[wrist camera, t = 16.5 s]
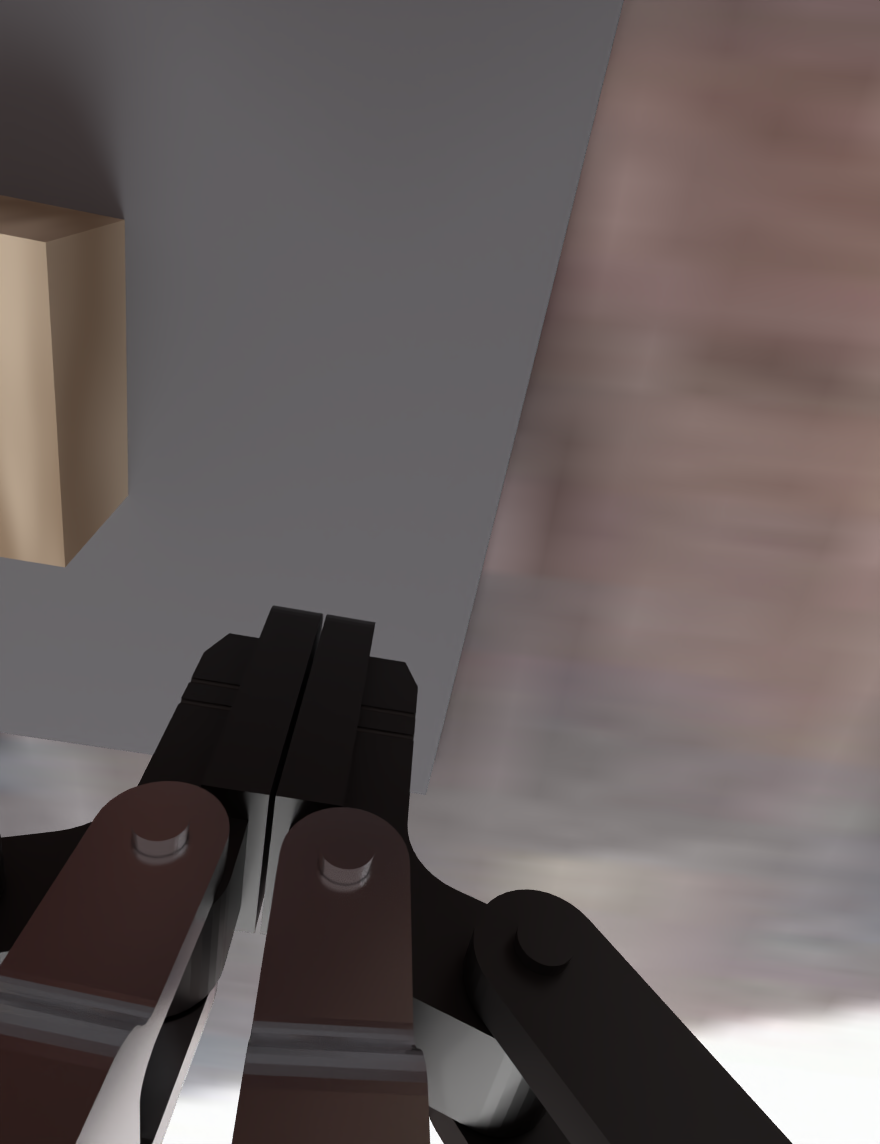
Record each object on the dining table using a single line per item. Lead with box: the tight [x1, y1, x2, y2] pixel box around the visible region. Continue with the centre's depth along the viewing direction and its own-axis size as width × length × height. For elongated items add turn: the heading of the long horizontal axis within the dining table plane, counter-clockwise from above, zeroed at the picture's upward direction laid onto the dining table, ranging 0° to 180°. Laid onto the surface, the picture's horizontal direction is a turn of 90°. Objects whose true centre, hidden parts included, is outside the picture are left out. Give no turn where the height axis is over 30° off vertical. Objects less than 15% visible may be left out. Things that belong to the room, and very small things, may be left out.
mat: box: [0, 0, 624, 795], centre depth 20 cm, size 22×26×1 cm
